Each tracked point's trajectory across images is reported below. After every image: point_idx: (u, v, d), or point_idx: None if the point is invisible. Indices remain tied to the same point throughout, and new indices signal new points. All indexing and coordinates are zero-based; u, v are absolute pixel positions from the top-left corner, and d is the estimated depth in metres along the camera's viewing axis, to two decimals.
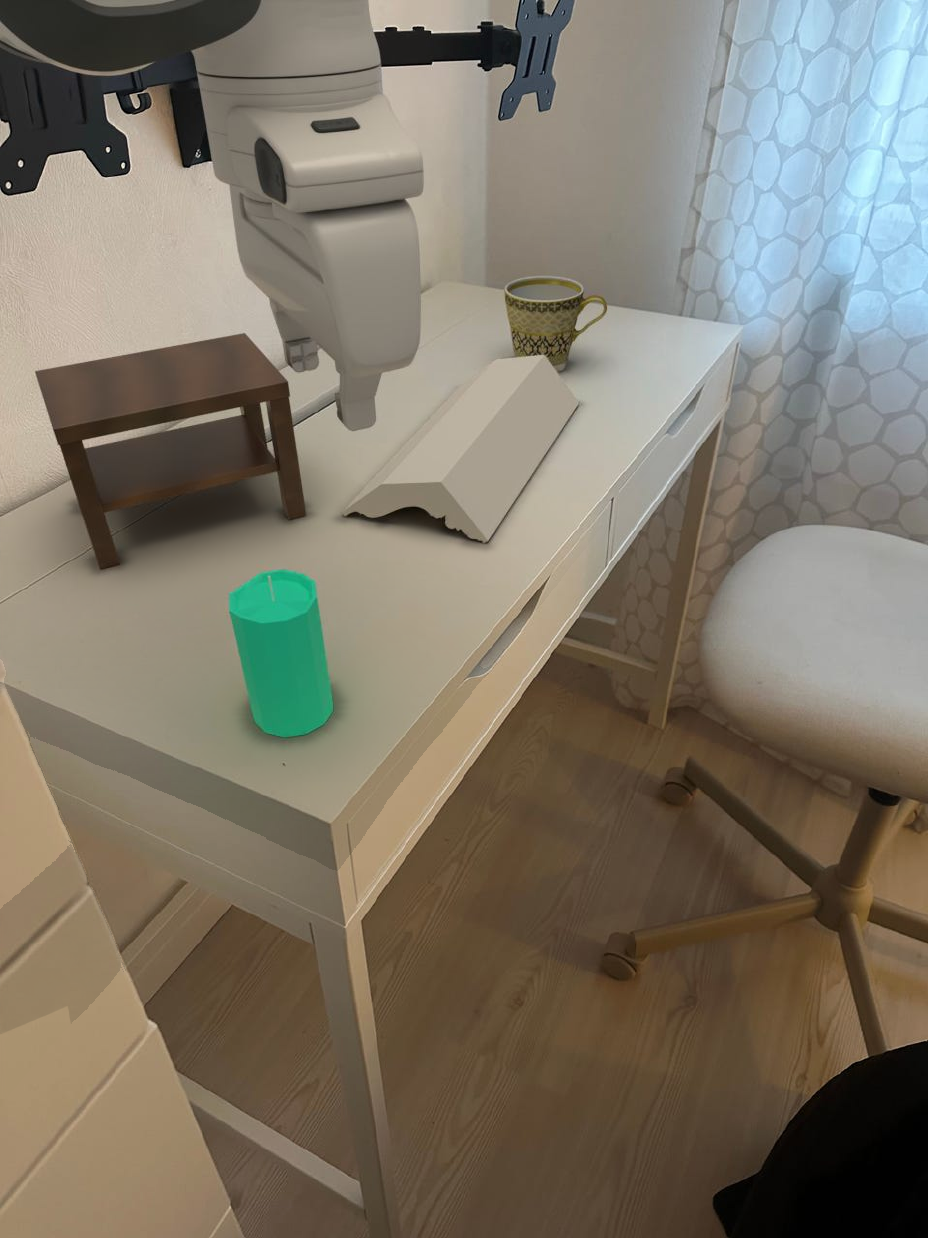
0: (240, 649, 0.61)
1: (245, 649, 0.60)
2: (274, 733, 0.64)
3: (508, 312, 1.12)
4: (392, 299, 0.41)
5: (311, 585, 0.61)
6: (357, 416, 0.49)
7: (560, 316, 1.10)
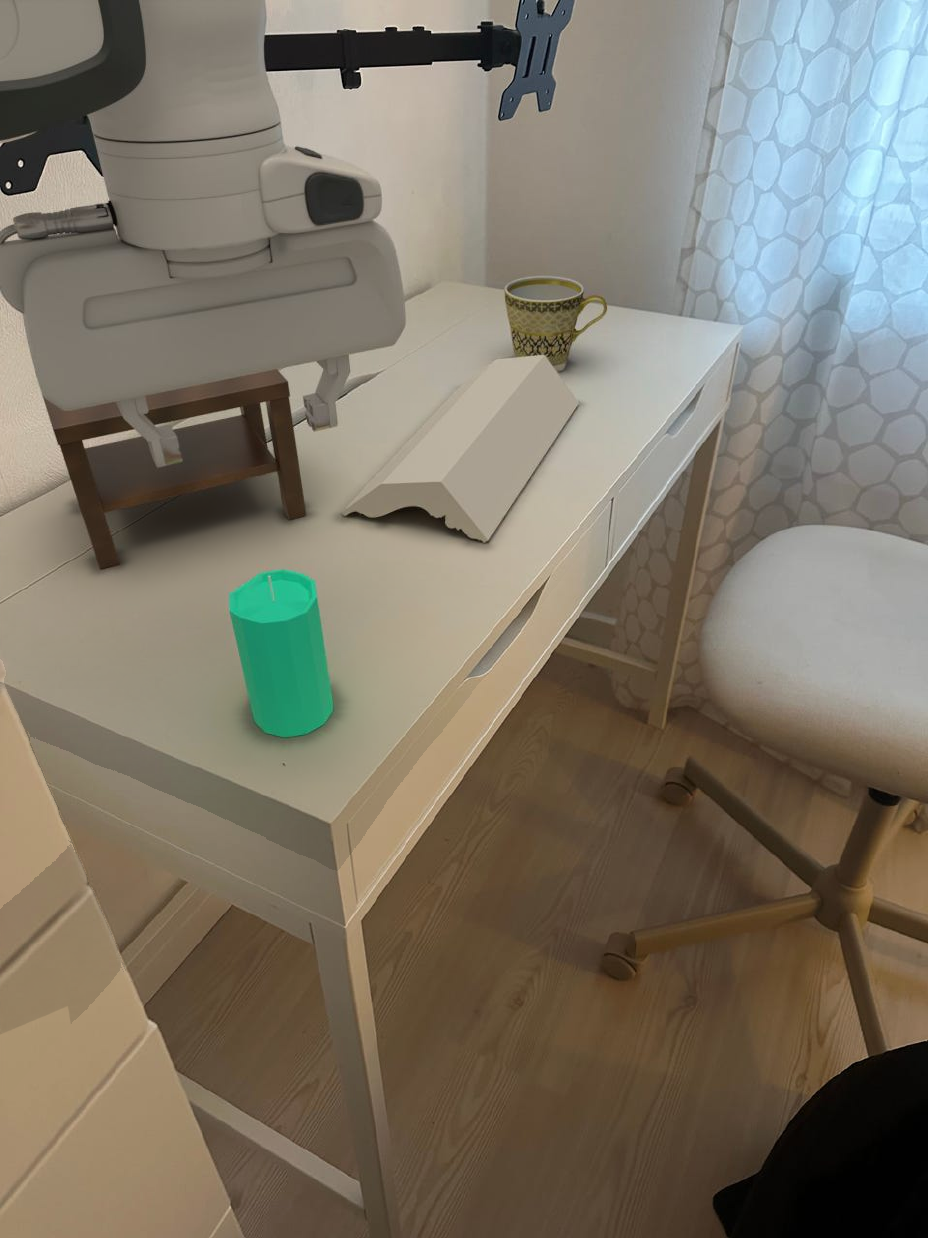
0: (240, 649, 0.61)
1: (245, 649, 0.60)
2: (274, 733, 0.64)
3: (508, 312, 1.12)
4: None
5: (311, 585, 0.61)
6: None
7: (560, 316, 1.10)
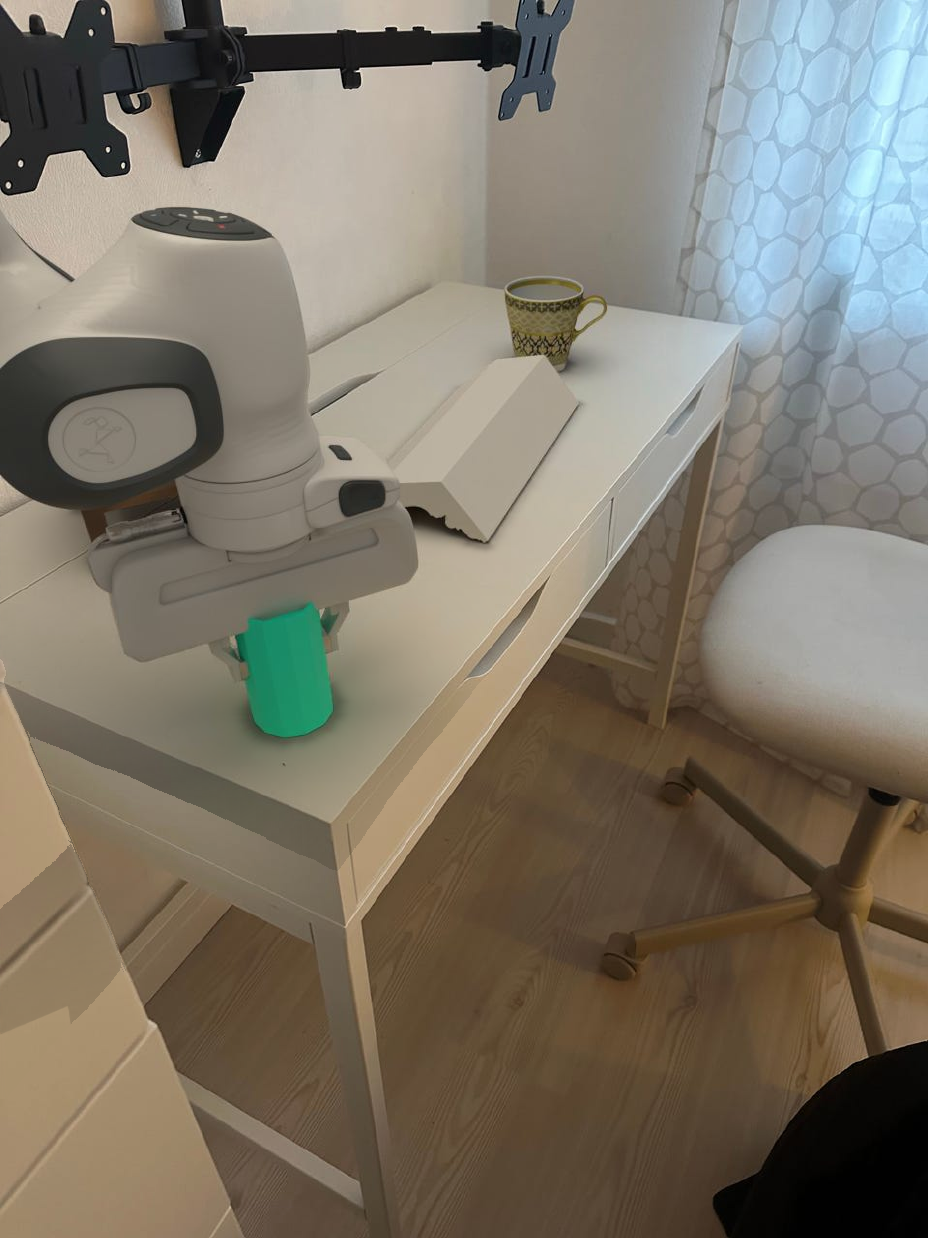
0: (240, 649, 0.61)
1: (245, 649, 0.60)
2: (274, 733, 0.64)
3: (508, 312, 1.12)
4: None
5: None
6: None
7: (560, 316, 1.10)
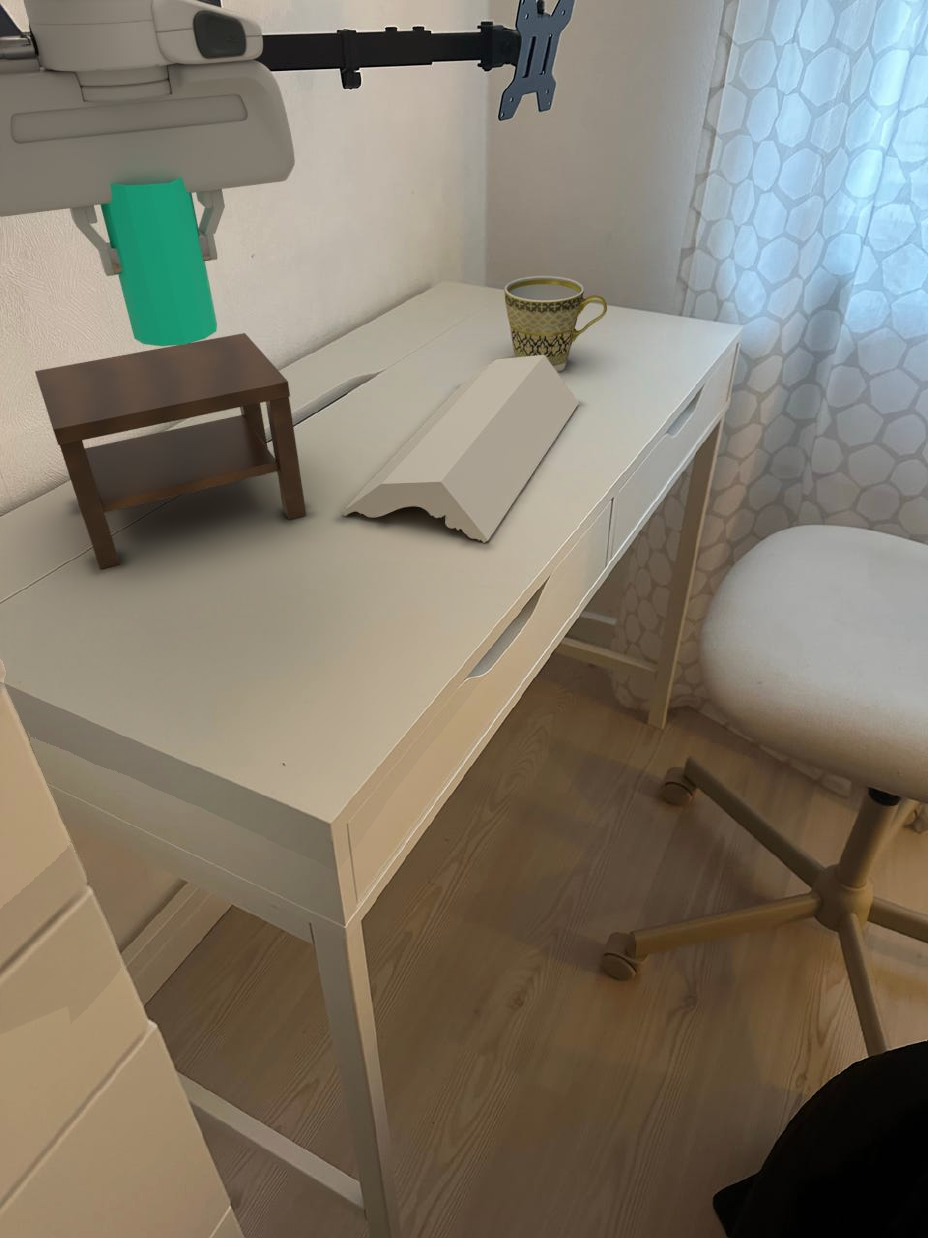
0: (110, 235, 0.60)
1: (113, 229, 0.59)
2: (152, 342, 0.63)
3: (508, 312, 1.12)
4: None
5: None
6: None
7: (560, 316, 1.10)
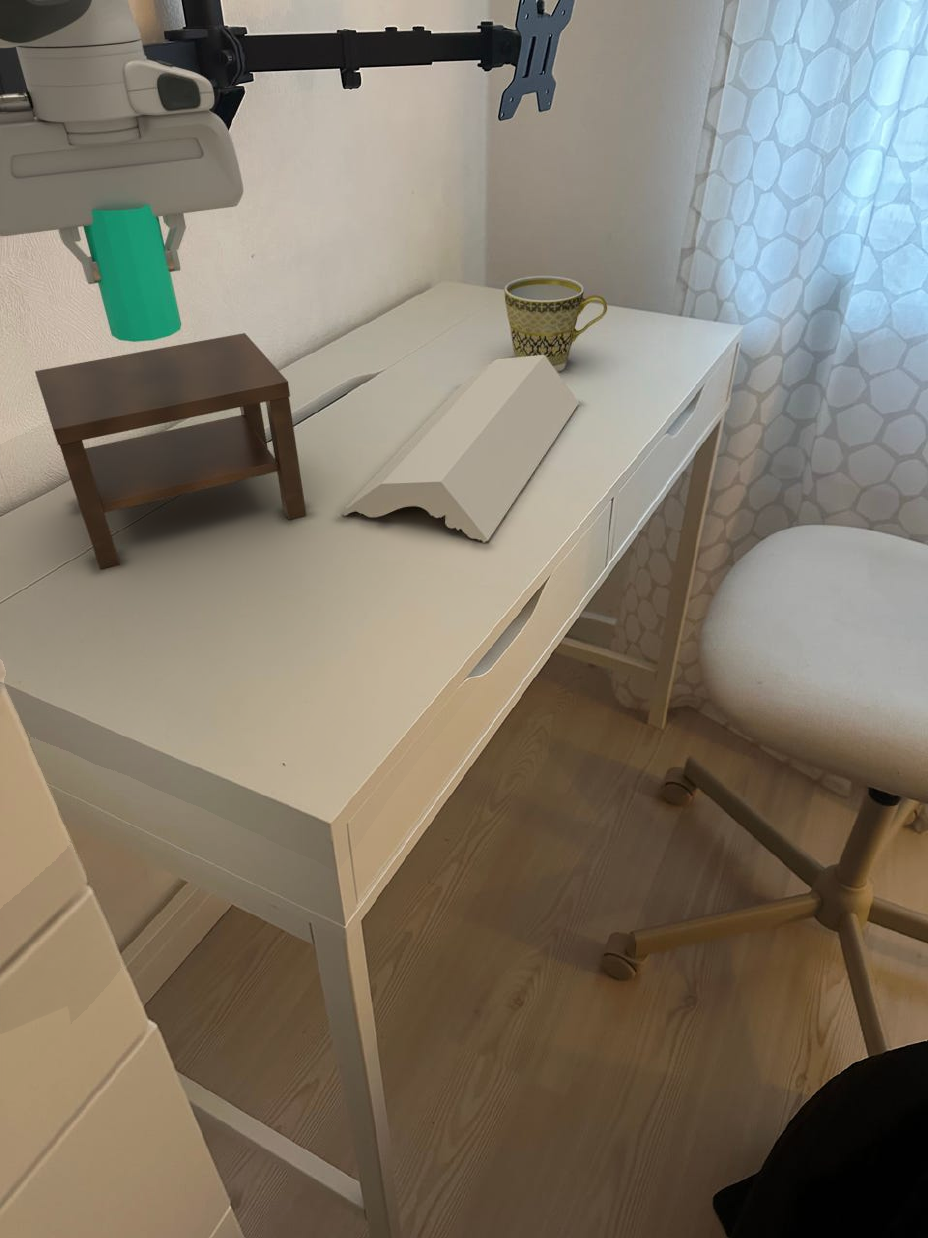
0: (91, 250, 0.73)
1: (94, 246, 0.72)
2: (126, 338, 0.76)
3: (508, 312, 1.12)
4: None
5: None
6: None
7: (560, 316, 1.10)
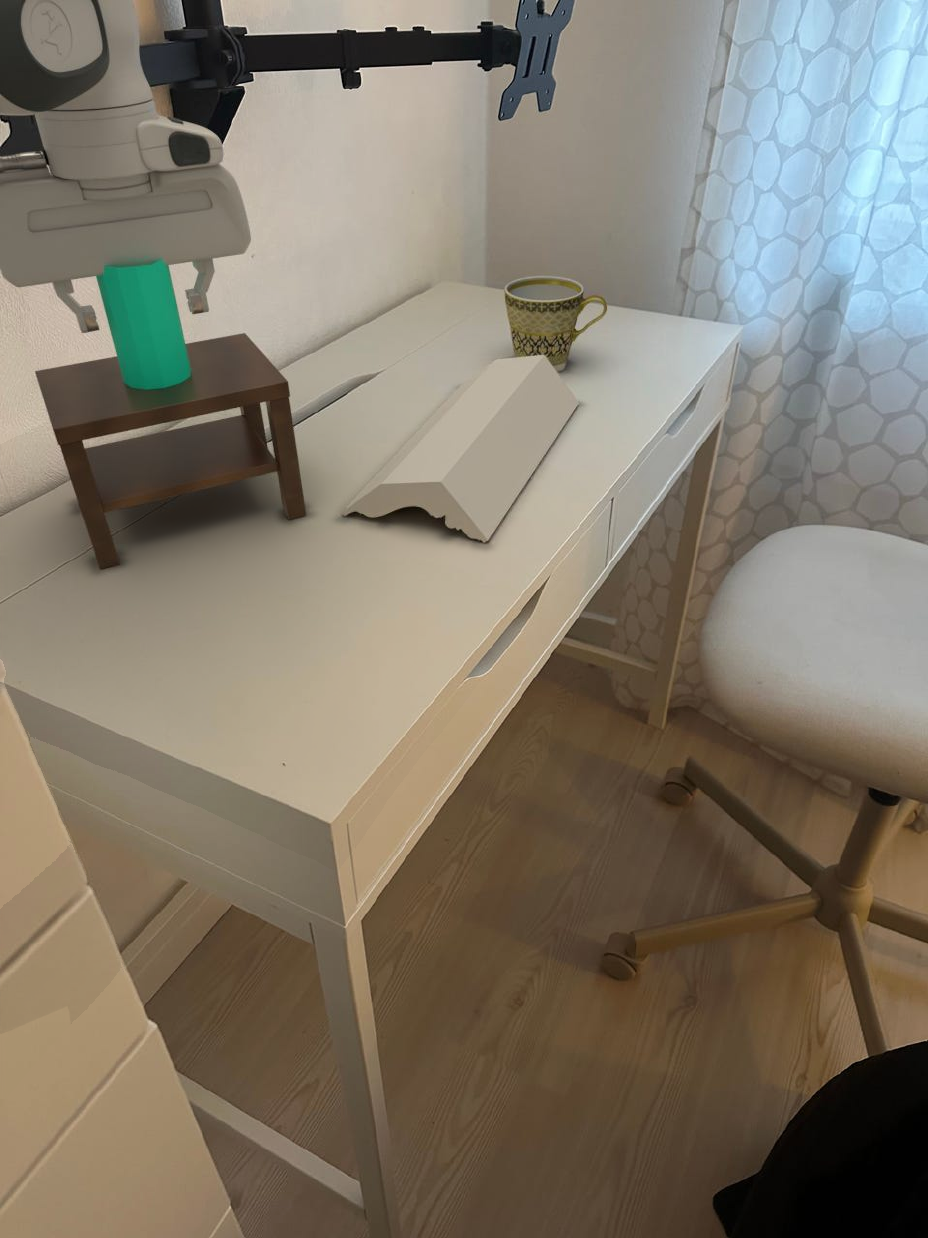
0: (105, 303, 0.76)
1: (107, 300, 0.75)
2: (138, 386, 0.79)
3: (508, 312, 1.12)
4: None
5: None
6: None
7: (560, 316, 1.10)
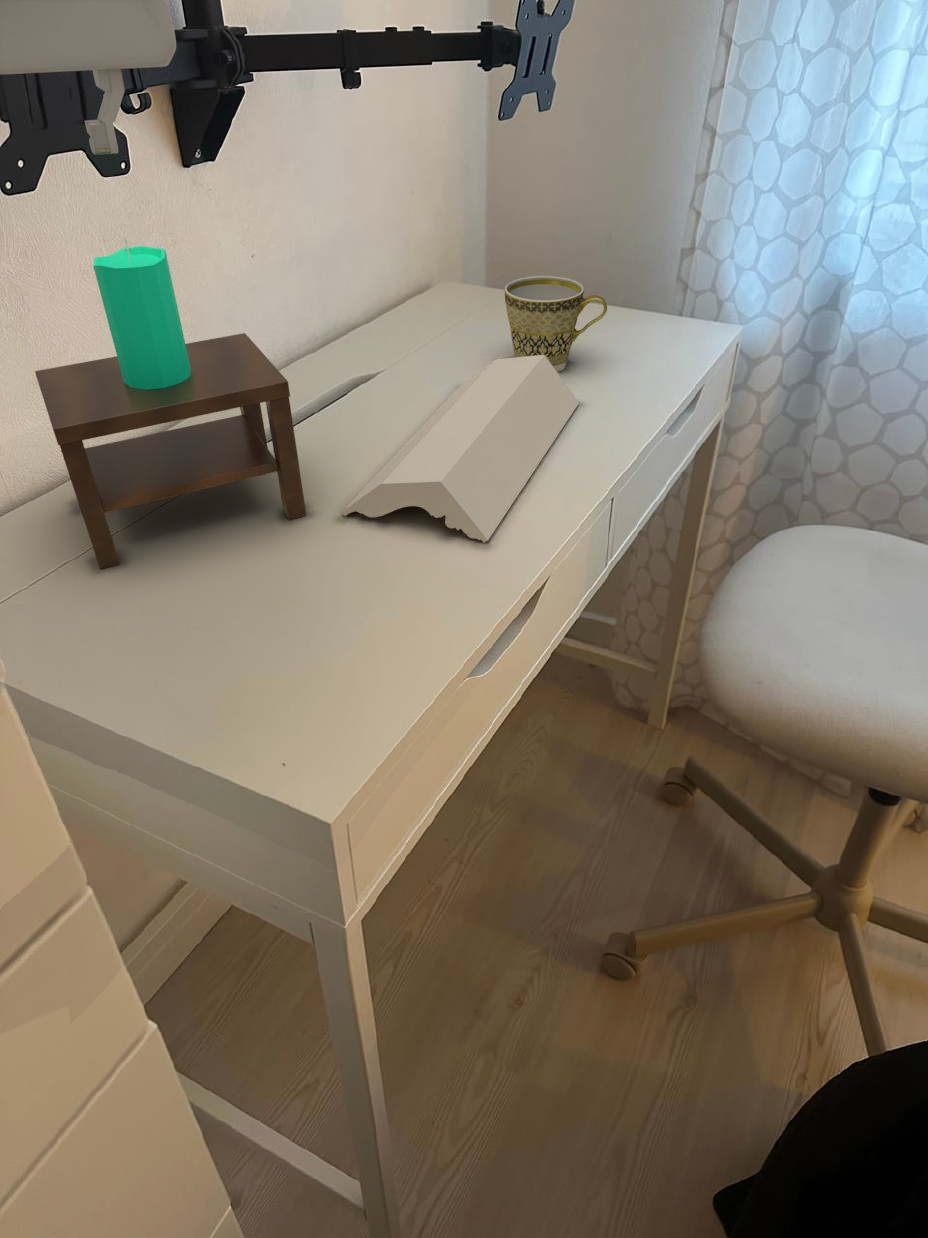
0: (105, 303, 0.76)
1: (107, 300, 0.75)
2: (138, 386, 0.79)
3: (508, 312, 1.12)
4: None
5: (162, 251, 0.75)
6: None
7: (560, 316, 1.10)
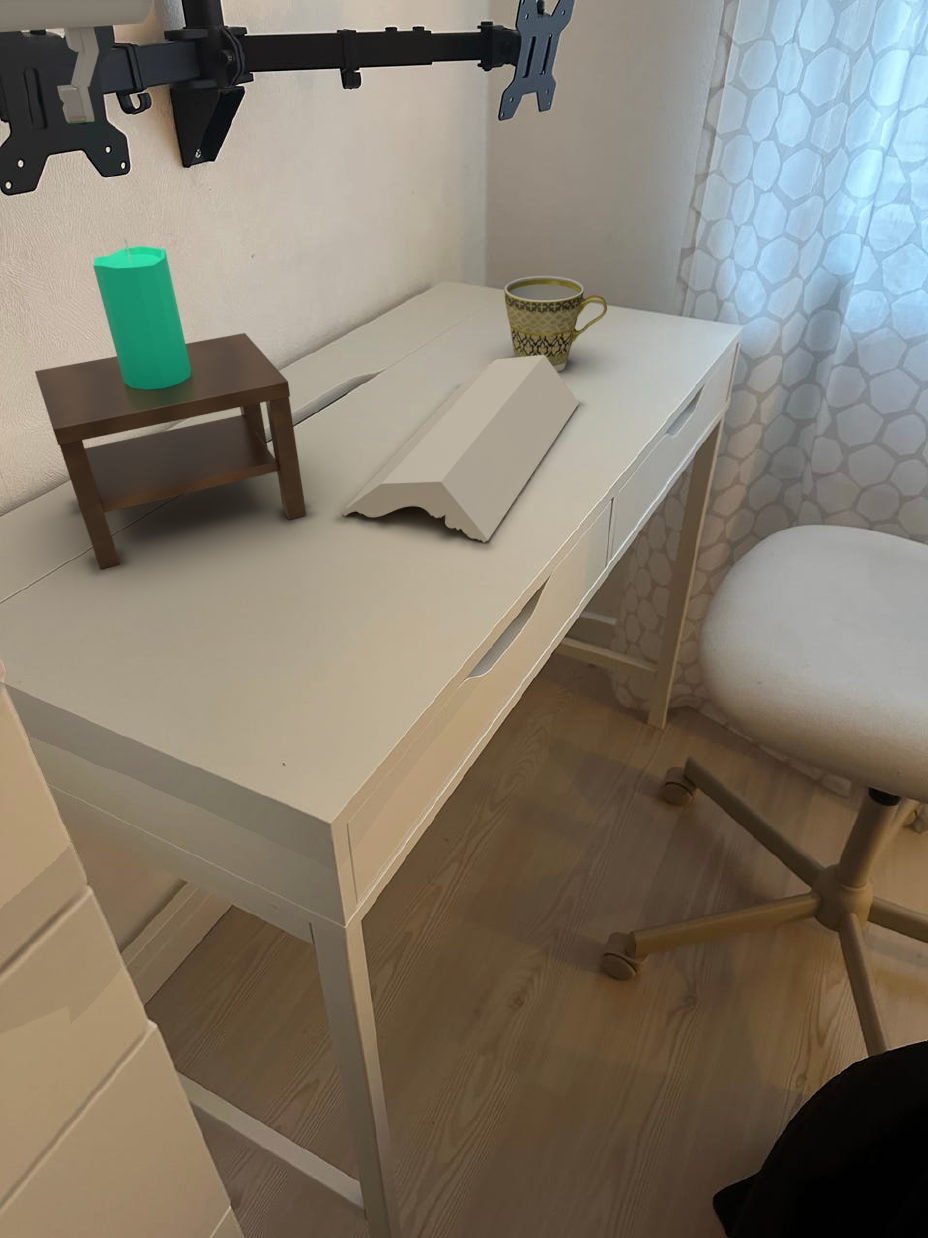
0: (105, 303, 0.76)
1: (107, 300, 0.75)
2: (138, 386, 0.79)
3: (508, 312, 1.12)
4: None
5: (162, 251, 0.75)
6: None
7: (560, 316, 1.10)
